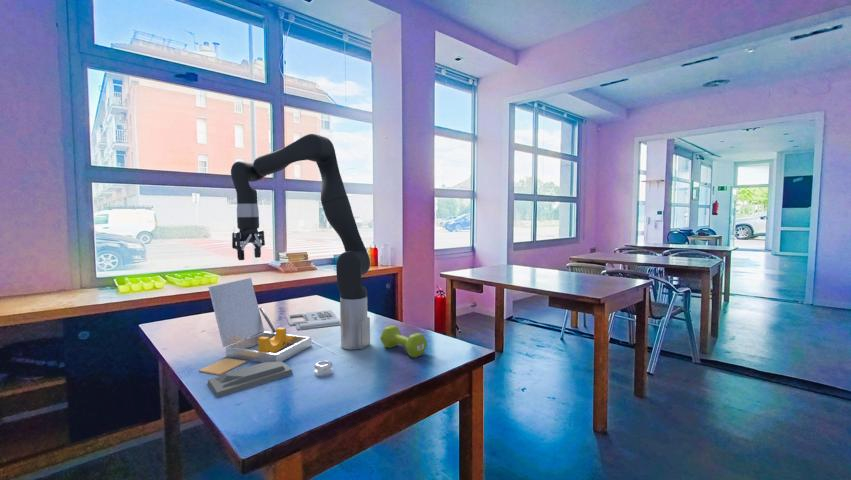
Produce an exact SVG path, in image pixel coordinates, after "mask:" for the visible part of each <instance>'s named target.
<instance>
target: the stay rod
mask: <svg viewBox="0 0 851 480" xmlns="http://www.w3.org/2000/svg"><path fill="white" fill-rule="evenodd" d="M258 308H259V312H260V314H261V315H262V316H263V318H264V320H265V321H266V322H267V324H268V326H269V328H270V329H271V332H276V328H275V327H274V326H273V323H272V322H271V320H270V319H269V317H268V315H267V313H266V311H265V310H264V309H263V307H262V306H260V307H258Z"/></svg>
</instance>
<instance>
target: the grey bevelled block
mask: <svg viewBox="0 0 851 480" xmlns="http://www.w3.org/2000/svg"><path fill="white" fill-rule="evenodd" d="M292 375H294V374H293V371H292V369H291V368H290V367H289V365H287V364H286V363H284V361H282V362H281V361H280V360H279V361H275V362H259V363H257V364H255V365H254V364H253V365H250V366H246V367H243V368H240V369H236V370H235V369H233V370H230V371H228V372H226V373H224V374H221V375H218V376H216V377H212V378H208V380H207V386H208V387H209V388H210V390H211V391H212V392H213V393H214V394H215V396H216V398H221V397H224V396H228V395H231V394H233V393H236V392H237V393H238V392H240V391H243V390H247V389H250V388H253V387H257V386H260V385H263V384H266V383H270V382H273V381H276V380H279V379H283V378H286V377H289V376H292Z"/></svg>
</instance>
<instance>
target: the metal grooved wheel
mask: <svg viewBox="0 0 851 480" xmlns="http://www.w3.org/2000/svg"><path fill="white" fill-rule="evenodd" d="M332 373H333V362H332V361H330V360H320V361H318V362H316V363H315V364H314V375H315V376H317V377H328V376H330V375H331V374H332Z"/></svg>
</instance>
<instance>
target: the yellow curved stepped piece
mask: <svg viewBox="0 0 851 480" xmlns="http://www.w3.org/2000/svg"><path fill="white" fill-rule="evenodd" d="M275 330H276V335H275V336H274V337H273V338H271V339H269V337H260V338H258V344H257V345H258V351H262V352H269V353H278V352H280V351H281V349H282V350H283V348H285V347H287V343H286V334H287V327H280V326H279V327H277V328H275Z"/></svg>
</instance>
